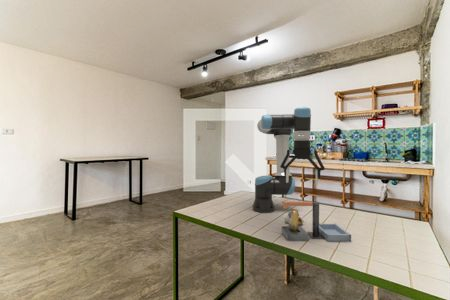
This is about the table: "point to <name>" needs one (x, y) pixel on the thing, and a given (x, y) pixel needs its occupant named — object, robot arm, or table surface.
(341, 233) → the tray
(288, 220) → the rainbow disc toy
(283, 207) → the swing bar
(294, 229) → the pin
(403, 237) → the table surface
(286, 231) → the hitch block
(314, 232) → the gate post
